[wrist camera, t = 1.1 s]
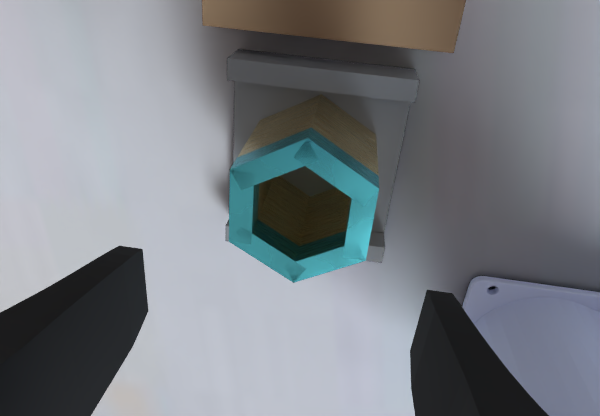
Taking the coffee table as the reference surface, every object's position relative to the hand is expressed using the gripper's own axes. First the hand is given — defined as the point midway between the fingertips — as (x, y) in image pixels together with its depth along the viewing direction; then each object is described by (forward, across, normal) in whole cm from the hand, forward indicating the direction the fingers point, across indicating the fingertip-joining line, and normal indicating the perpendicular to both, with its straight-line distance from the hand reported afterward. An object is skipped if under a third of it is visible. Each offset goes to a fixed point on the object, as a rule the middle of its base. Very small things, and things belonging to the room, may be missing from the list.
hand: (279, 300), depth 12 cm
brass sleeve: (+9, 0, 0) cm, 9 cm away
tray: (+10, 0, 0) cm, 10 cm away
